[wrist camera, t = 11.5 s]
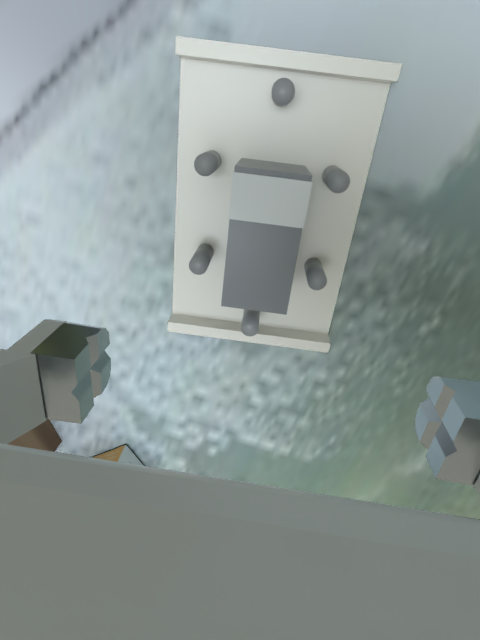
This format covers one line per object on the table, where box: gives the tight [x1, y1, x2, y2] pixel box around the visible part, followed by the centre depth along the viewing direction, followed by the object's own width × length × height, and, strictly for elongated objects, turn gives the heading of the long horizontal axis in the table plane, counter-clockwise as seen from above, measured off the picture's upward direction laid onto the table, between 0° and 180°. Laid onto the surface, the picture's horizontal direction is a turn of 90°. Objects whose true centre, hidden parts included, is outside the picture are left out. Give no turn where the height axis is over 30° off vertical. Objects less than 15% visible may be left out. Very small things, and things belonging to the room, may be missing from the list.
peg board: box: [168, 36, 402, 353], centre depth 25 cm, size 12×18×4 cm, turn 174°
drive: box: [221, 158, 312, 315], centre depth 24 cm, size 4×8×5 cm, turn 173°
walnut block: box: [8, 419, 62, 452], centre depth 35 cm, size 5×5×5 cm
